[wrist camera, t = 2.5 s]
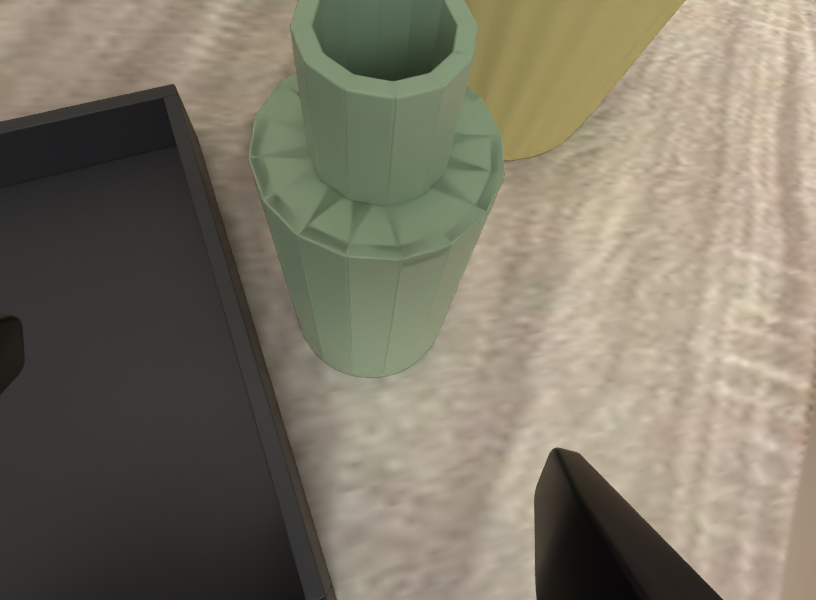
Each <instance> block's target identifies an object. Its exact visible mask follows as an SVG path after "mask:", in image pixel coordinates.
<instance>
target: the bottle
mask: <svg viewBox="0 0 816 600" xmlns="http://www.w3.org/2000/svg"><path fill="white" fill-rule="evenodd" d="M477 30H478V25H477V21H476V20H475V18H474V16H473V14H472V13H471V11H470V9H469V7H468V6H467V4H466V2H465V0H298V3H297V6H296V9H295V12H294V15H293V18H292V21H291V24H290V31H291V38H292V45H293V52H294V59H295V66H296V73H294V74H293V75H291V76H290V77H288V78H286V79H285V80H283V81H281V82H280V83H279V84H278V85H277V87H276V88H275V90H274V91H273V92H272V94H271V95H270V97H269V98H268V99H267V101H266V102H265V104H264V105H263V106H262V108H261V109H260V110H259V112H258V113H257V115H256V117H255V119H254V125H253V131H252V137H251V143H250V150H249V156H248V158H249V164H250V167H251V170H252V173H253V176H254V180H255V183H256V186H257V189H258V192H259V196H260V199H261V202H262V205H263V208H264V212H265V215H266V218H267V221H268V225H269V228H270V231H271V234H272V237H273V241H274V244H275V247H276V250H277V253H278V257H279V260H280V263H281V266H282V269H283V273H284V276H285V279H286V282H287V285H288V289H289V292H290V295H291V298H292V302H293V305H294V308H295V311H296V314H297V317H298V320H299V323H300V326H301V330H302V332H303V335H304V338H305V340H306V341H307V343H308V344H309V346H310V347H311V349H312V350H313V351H314V352H315V354H316V355H317V356H318V357H319V358H321V359H322V360H323V361H324V362H325V363H327V364H328V365H330V366H331V367H333V368H335V369H337V370H339V371H341V372H344V373H346V374H349V375H354V376H358V377H367V378H368V377H382V376H388V375H392V374H395V373H398V372H400V371H402V370H405V369H407V368H408V367H410V366H412V365H413V364H414V363H416V362H417V361H418V360H419V359H421V358H422V357H423V356H424V355H425V354H426V352H427V351H428V350H429V349H430V347H431V346H432V345H433V343H434V341H435V339H436V337H437V334H438V332H439V330H440V328H441V325H442V323H443V321H444V318H445V316H446V314H447V311H448V309H449V307H450V304H451V302H452V300H453V297H454V295H455V292H456V290H457V288H458V285H459V283H460V281H461V278H462V276H463V274H464V271H465V269H466V266H467V264H468V262H469V259H470V257H471V255H472V252H473V250H474V248H475V245H476V243H477V240H478V238H479V236H480V233H481V231H482V229H483V226H484V224H485V221H486V219H487V217H488V214H489V212H490V210H491V207H492V205H493V203H494V200H495V198H496V195H497V193H498V191H499V188H500V186H501V184H502V181H503V179H504V175H505V174H504V156H503V138H502V134H501V132H500V130H499V128H498V126H497V124H496V123H495V121H494V119H493V117H492V115H491V113H490V111H489V110H488V108H487V106H486V104H485V102H484V100H483V99H482V98H481V97H480V96H479V95H478V94H477V93H475V92H474V91H473V90H472V89H471V88H470V87H468V86H467V83H468V79H469V75H470V71H471V67H472V63H473V59H474V52H475V44H476V37H477Z"/></svg>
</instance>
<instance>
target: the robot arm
mask: <svg viewBox="0 0 816 600" xmlns="http://www.w3.org/2000/svg"><path fill="white" fill-rule="evenodd" d="M24 362H25V353H24V339H23V326H22V323H21V321H20V319H19V318H18V317H16V316H14V315H10V314H5V313H1V312H0V395H1V394H2V393H3V392H4V390H5V389H6V388H7V387H8V386H9V385H10V384H11V383H12V382H13V381H14V380H15V379H16V377H17V376H18V375H19V374H20V372H21V371H22V369H23V366H24ZM534 516H535V583H536V596H537V600H723V599H722V598H721V597H720V596H719V595H718V594H717V593H716V592H715V591H714V590H713V589H712V588H711V587H710V586H709V585H708V584H707V583H706V582H705V581H704V580H703V579H702V578H701V577H700V576H699V575H698V574H697V573H696V572H695V571H694V570H693V569H692V568H691V567H690V565H689V564H688V563H687V562H686V561H685V560H684V559H683V558H682V557H681V556H680V555H679V554H678V553H677V552H676V551H675V550H674V549H673V548H672V547H671V546H670V545H669V544H668V543H667V542H666V541H665V540H664V539H663V538H662V537H661V536H660V535H659V534H658V533H657V532H656V531H655V530H654V529H653V528H652V527H651V526H650V525H649V524H648V523H647V522H646V521H645V520H644V519H643V518H642V517H641V516H640V515H639V514H638V513H637V512H636V511H635V509H634V508H633V507H632V506H631V505H630V504H629V503H628V502H627V501H626V500H625V499H624V498H623V497H622V496H621V495H620V494H619V493H618V492H617V491H616V490H615V489H614V488H613V487H612V486H611V485H610V484H609V483H608V482H607V481H606V480H605V479H604V478H603V477H602V476H601V475H600V474H599V473H598V472H597V471H596V470H595V469H594V468H593V467H592V466H591V465H590V464H589V463H588V462H587V461H586V460H585V459H584V458H583V457H582V456H581V455H580V454H579V453H577V452H574V451H570V450H566V449H562V448H554V449H552V451H551V452H550V454H549V456H548V458H547V461H546V463H545V466H544V468H543V471H542V473H541V476H540V478H539V481H538V483H537V486H536V490H535V497H534Z"/></svg>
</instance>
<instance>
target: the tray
mask: <svg viewBox="0 0 816 600" xmlns="http://www.w3.org/2000/svg"><path fill="white" fill-rule="evenodd" d="M0 312H1V313H5V314H10V315H14V316H16V317H18V318H19V319H20V321H21V323H22V326H23V339H24V353H25V362H24V366H23V369H22V371H21V372H20V374H19V375H18V376H17V377H16V379H15V380H14V381H13V382H12V383H11V384H10V385H9V386H8V387H7V388H6V389H5V390H4V392H3V393H2V394H1V395H0V600H337V599H336V596H335V592H334V589H333V586H332V582H331V579H330V576H329V573H328V569H327V566H326V563H325V559H324V556H323V553H322V549H321V546H320V543H319V539H318V536H317V533H316V529H315V526H314V523H313V519H312V516H311V513H310V510H309V506H308V503H307V500H306V496H305V493H304V490H303V486H302V483H301V480H300V476H299V473H298V470H297V466H296V463H295V460H294V456H293V453H292V450H291V447H290V443H289V440H288V437H287V433H286V430H285V427H284V423H283V420H282V417H281V413H280V410H279V407H278V403H277V400H276V397H275V393H274V390H273V387H272V384H271V380H270V377H269V374H268V370H267V367H266V364H265V360H264V357H263V354H262V350H261V347H260V344H259V340H258V337H257V334H256V330H255V327H254V324H253V321H252V317H251V314H250V311H249V307H248V304H247V301H246V297H245V294H244V291H243V287H242V284H241V281H240V277H239V274H238V271H237V267H236V264H235V261H234V258H233V254H232V251H231V248H230V244H229V241H228V238H227V234H226V231H225V228H224V224H223V221H222V218H221V214H220V211H219V208H218V204H217V201H216V198H215V195H214V191H213V188H212V185H211V181H210V178H209V175H208V171H207V168H206V165H205V161H204V158H203V155H202V151H201V148H200V145H199V142H198V138H197V136H196V133H195V131H194V129H193V126H192V124H191V122H190V119H189V117H188V115H187V112H186V110H185V108H184V105H183V103H182V101H181V98H180V96H179V94H178V91H177V89H176V87H175V85H174V84H171V85H167V86H162V87H157V88H153V89H148V90H144V91H139V92H135V93H130V94H125V95H121V96H116V97H112V98H107V99H102V100H98V101H93V102H89V103H84V104H80V105H75V106H70V107H66V108H61V109H57V110H52V111H48V112H43V113H38V114H34V115H29V116H25V117H20V118H16V119H11V120H6V121H2V122H0Z"/></svg>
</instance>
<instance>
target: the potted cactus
mask: <svg viewBox="0 0 816 600" xmlns="http://www.w3.org/2000/svg"><path fill="white" fill-rule="evenodd" d="M465 2H466V4H467V6H468V7H469V9H470V11H471V13H472V14H473V16H474V18H475V20H476V21H477V25H478V30H477V37H476V44H475V52H474V59H473V63H472V67H471V71H470V75H469V79H468V83H467V86H468V87H470V88H471V89H472V90H473V91H474V92H475V93H477V94H478V95H479V96H480V97H481V98H482V99H483V100H484V102H485V104H486V106H487V108H488V110H489V111H490V113H491V115H492V117H493V119H494V121H495V123H496V124H497V126H498V128H499V130H500V132H501V134H502V138H503V156H504V160H517V159H523V158H529V157H533V156H536V155H539V154H542V153H544V152H547V151H549V150H551V149H553V148H555V147H556V146H558V145H560V144H561V143H563V142H564V141H565V140H567V139H568V138H569V137H570V136H571V135H572V134H573V133H574V132H575V131H576V130H577V128H578V127H580V126H581V125H582V124H583V123H584V122H585V121H586V119H587V118H588V117H589V116H590V115H591V113H592V112H593V111H594V110H595V109H596V107H597V106H598V105H599V104H600V103H601V101H602V100H603V99H604V98H605V97H606V95H607V94H608V93H609V92H610V91H611V89H612V88H613V87H614V86H615V85H616V83H617V82H618V81H619V80H620V79H621V77H622V76H623V75H624V74H625V73H626V71H627V70H628V69H629V68H630V67H631V65H632V64H633V63H634V62H635V61H636V59H637V58H638V57H639V56H640V55H641V53H642V52H643V51H644V50H645V49H646V47H647V46H648V45H649V44H650V42H651V41H652V40H653V39H654V38H655V36H656V35H657V34H658V33H659V32H660V30H661V29H662V28H663V27H664V26H665V24H666V23H667V22H668V21H669V20H670V18H671V17H672V16H673V15H674V14H675V12H676V11H677V10H678V9H679V8H680V6H681V5H682V4H683V3H684V2H685V0H465Z"/></svg>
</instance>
